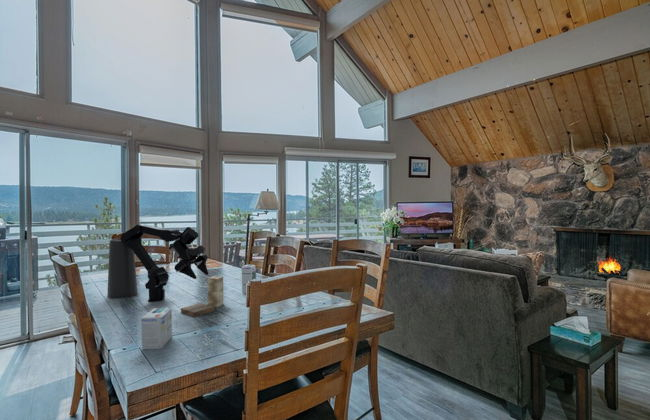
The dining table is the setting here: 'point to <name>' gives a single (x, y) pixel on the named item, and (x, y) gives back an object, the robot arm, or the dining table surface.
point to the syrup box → (247, 275)
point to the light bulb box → (156, 328)
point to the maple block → (215, 291)
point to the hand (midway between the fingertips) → (202, 276)
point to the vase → (121, 271)
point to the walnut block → (197, 309)
